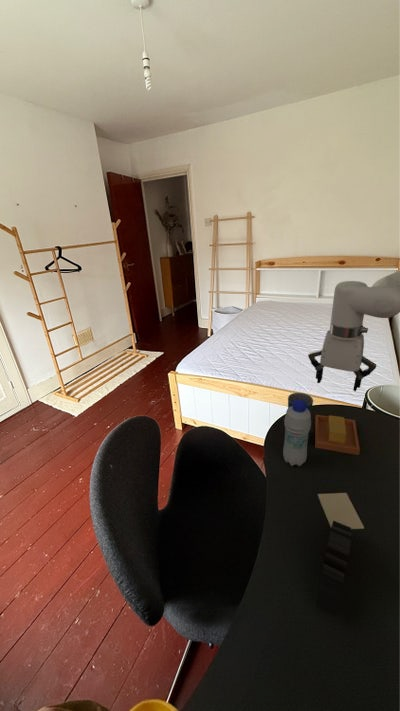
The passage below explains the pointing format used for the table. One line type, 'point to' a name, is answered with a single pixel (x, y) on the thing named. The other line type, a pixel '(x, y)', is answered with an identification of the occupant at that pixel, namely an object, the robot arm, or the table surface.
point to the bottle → (296, 433)
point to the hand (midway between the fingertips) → (336, 384)
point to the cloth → (340, 510)
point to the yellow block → (336, 429)
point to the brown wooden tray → (348, 447)
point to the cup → (303, 397)
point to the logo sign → (334, 569)
